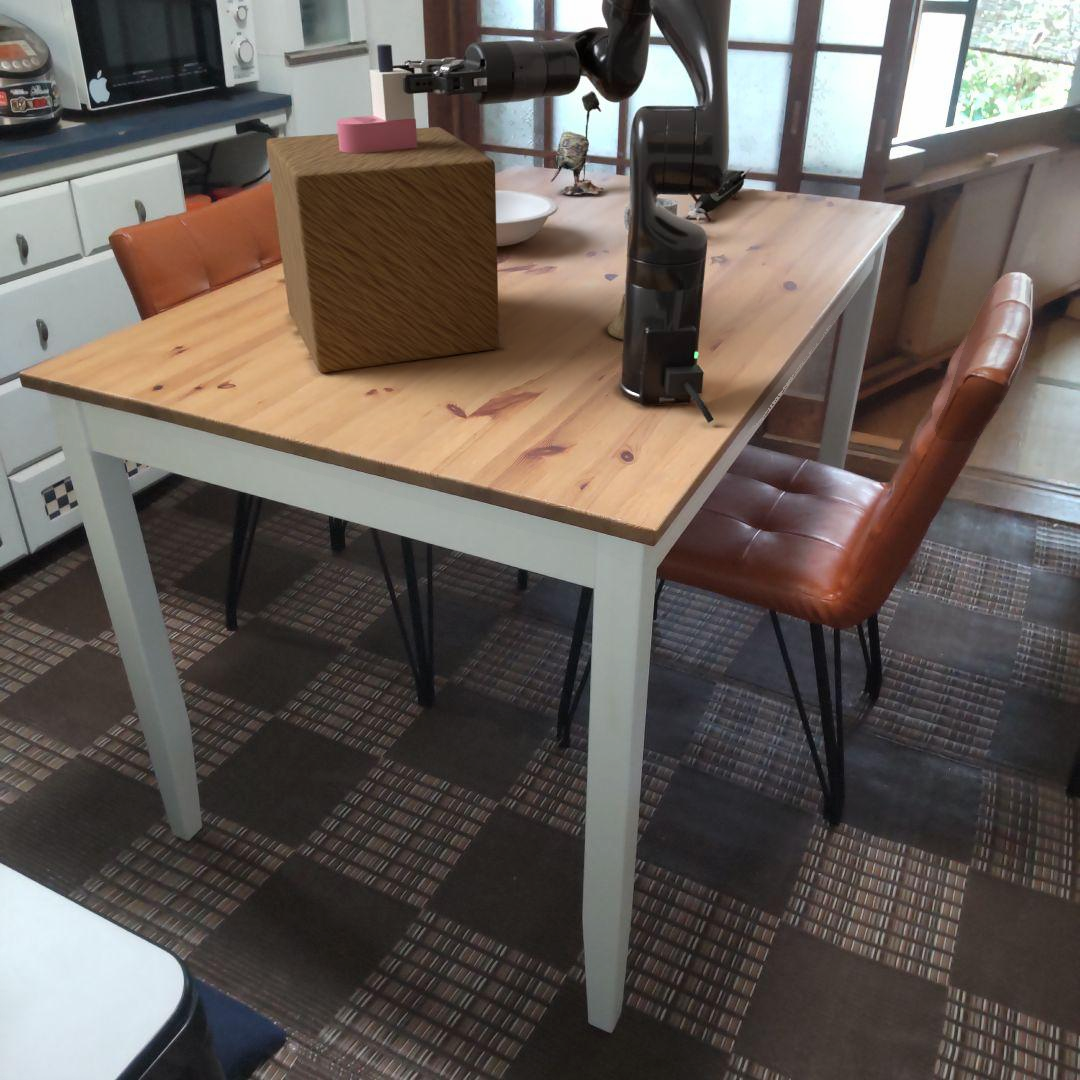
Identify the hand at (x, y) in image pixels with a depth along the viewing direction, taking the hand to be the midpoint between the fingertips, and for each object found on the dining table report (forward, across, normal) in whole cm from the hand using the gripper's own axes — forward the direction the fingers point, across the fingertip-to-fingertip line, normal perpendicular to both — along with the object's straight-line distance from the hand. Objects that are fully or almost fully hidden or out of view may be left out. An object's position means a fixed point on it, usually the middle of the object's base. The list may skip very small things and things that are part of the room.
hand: (391, 80), depth 129 cm
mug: (-57, -24, +33) cm, 70 cm away
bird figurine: (-63, -61, +33) cm, 94 cm away
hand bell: (-28, +17, +33) cm, 47 cm away
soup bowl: (-30, -35, +33) cm, 57 cm away
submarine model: (-83, -36, +33) cm, 97 cm away
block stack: (+3, 0, +8) cm, 8 cm away
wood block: (+3, 0, +33) cm, 33 cm away
